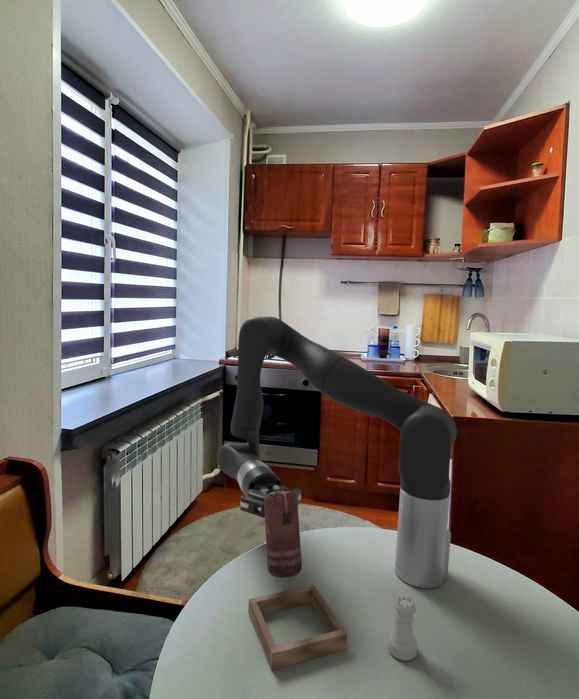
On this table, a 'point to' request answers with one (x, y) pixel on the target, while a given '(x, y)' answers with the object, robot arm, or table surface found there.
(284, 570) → the can
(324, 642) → the walnut collar
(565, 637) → the table surface
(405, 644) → the rook chess piece
